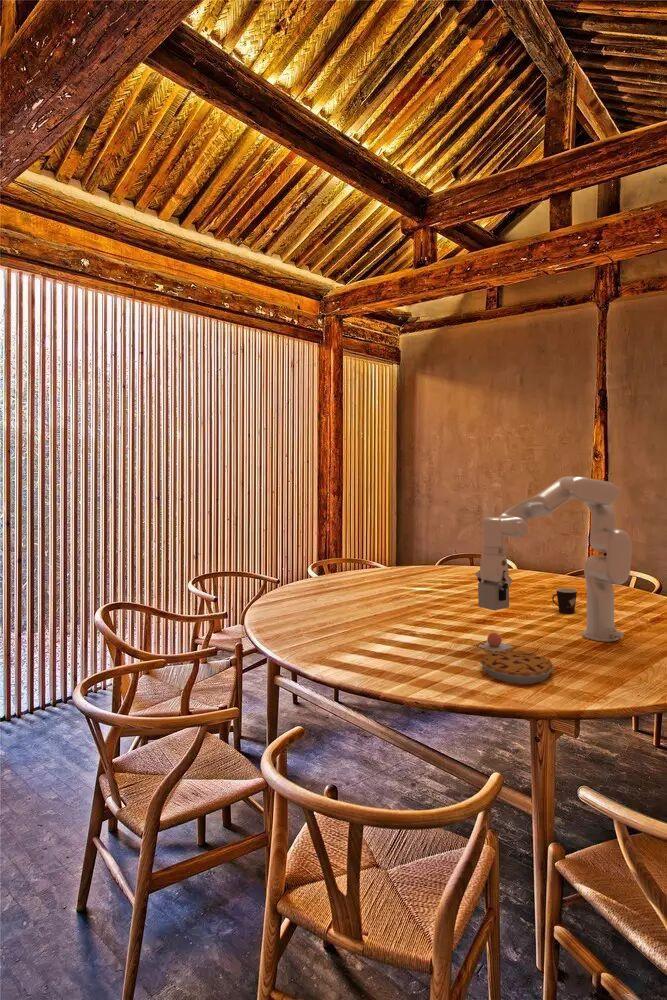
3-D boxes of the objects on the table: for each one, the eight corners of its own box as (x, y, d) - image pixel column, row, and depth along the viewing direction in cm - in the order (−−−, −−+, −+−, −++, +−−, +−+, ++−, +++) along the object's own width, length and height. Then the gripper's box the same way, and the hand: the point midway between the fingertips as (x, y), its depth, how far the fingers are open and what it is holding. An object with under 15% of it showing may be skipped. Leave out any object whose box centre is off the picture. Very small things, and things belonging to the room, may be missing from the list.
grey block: (509, 607, 198) (508, 583, 197) (494, 610, 194) (494, 586, 193) (492, 603, 204) (492, 580, 204) (478, 606, 200) (478, 583, 200)
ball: (493, 638, 196) (496, 650, 197) (502, 632, 198) (505, 644, 199) (483, 635, 200) (486, 647, 201) (492, 629, 202) (494, 641, 203)
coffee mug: (573, 609, 248) (573, 588, 248) (579, 614, 240) (579, 592, 239) (547, 609, 249) (547, 588, 249) (552, 614, 241) (552, 592, 240)
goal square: (513, 647, 198) (513, 646, 198) (495, 652, 193) (495, 652, 193) (492, 640, 206) (492, 640, 206) (474, 645, 201) (474, 645, 201)
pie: (567, 675, 171) (567, 659, 171) (525, 692, 158) (525, 676, 158) (509, 657, 189) (509, 643, 188) (467, 671, 176) (467, 656, 176)
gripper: (519, 552, 192) (519, 601, 193) (482, 547, 207) (482, 592, 208) (505, 554, 189) (505, 604, 189) (468, 549, 203) (468, 595, 204)
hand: (493, 597), depth 199 cm, fingers closed on grey block, 7 cm apart
